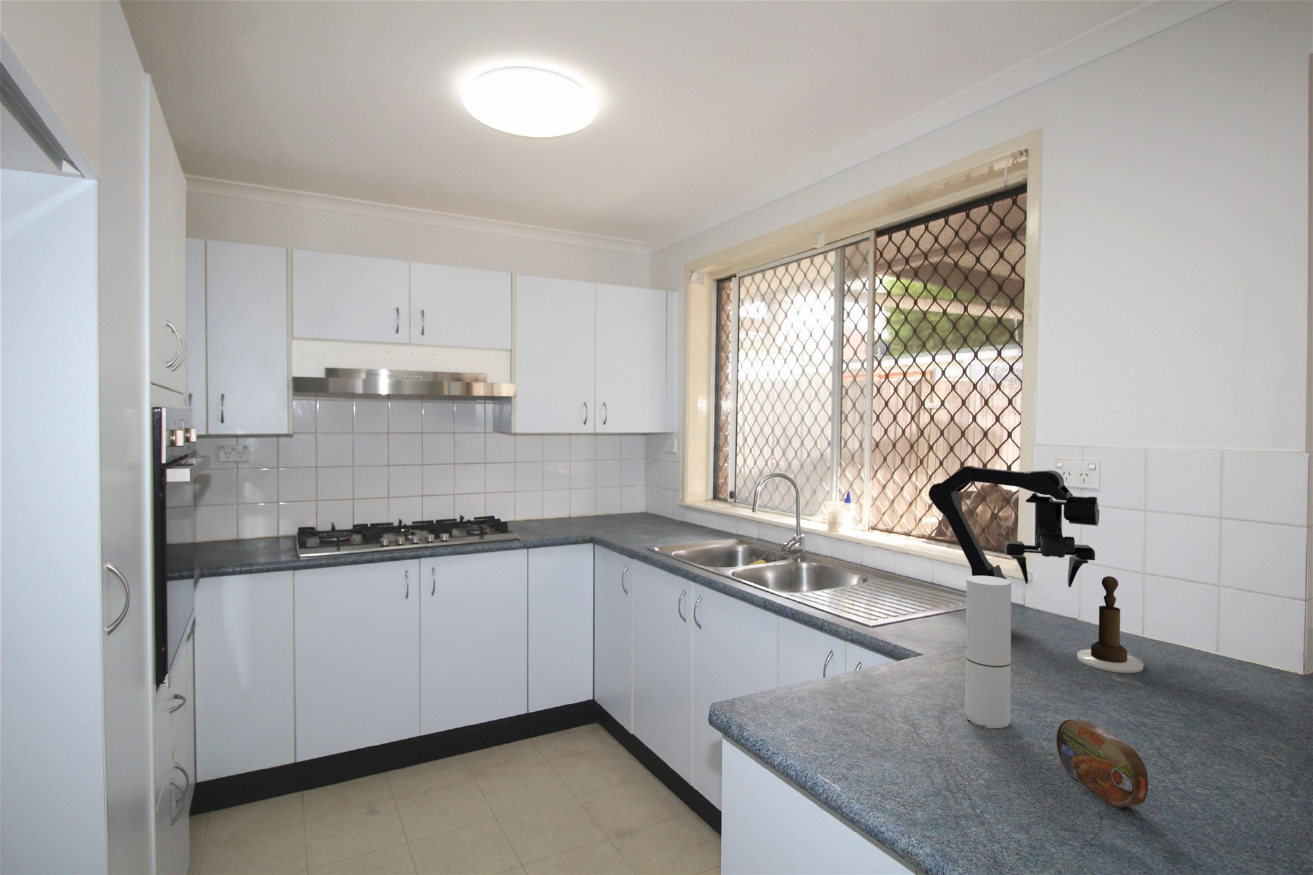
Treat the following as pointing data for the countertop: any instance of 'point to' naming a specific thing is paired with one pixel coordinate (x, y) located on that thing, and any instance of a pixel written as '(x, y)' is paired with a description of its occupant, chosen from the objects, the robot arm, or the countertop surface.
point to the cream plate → (1110, 663)
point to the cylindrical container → (988, 649)
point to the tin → (1102, 763)
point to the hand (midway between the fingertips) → (1047, 585)
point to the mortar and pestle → (1109, 627)
